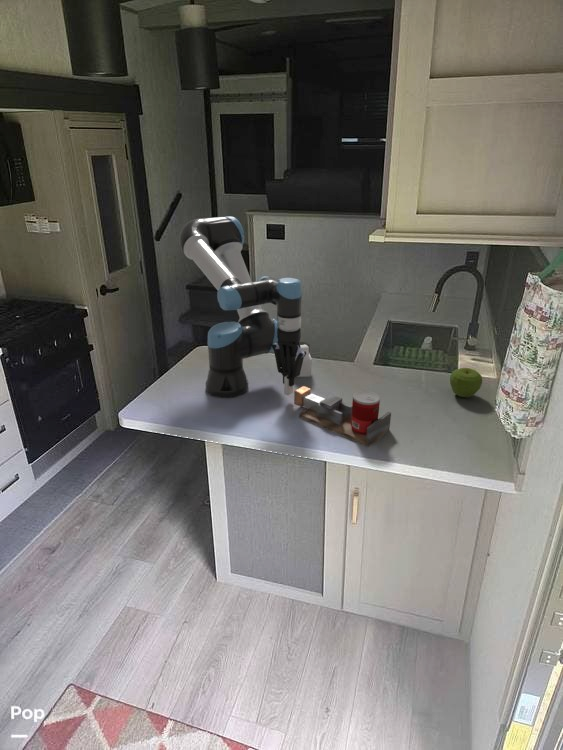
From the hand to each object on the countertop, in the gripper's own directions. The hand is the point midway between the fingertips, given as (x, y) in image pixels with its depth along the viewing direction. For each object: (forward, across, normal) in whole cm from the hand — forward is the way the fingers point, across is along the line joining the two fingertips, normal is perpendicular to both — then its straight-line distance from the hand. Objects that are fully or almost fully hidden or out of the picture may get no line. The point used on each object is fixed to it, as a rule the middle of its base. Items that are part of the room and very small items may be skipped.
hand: (288, 393), depth 174 cm
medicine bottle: (+3, -11, +20) cm, 23 cm away
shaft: (+2, +12, 0) cm, 12 cm away
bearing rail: (+3, +22, 0) cm, 23 cm away
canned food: (+2, +30, 0) cm, 30 cm away
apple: (+3, +43, +43) cm, 61 cm away
